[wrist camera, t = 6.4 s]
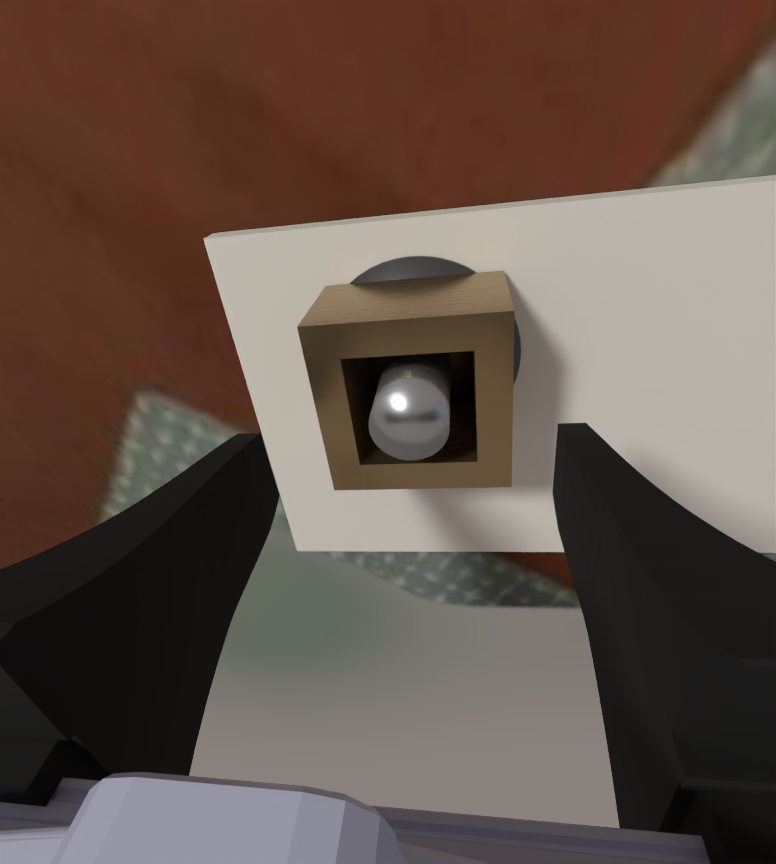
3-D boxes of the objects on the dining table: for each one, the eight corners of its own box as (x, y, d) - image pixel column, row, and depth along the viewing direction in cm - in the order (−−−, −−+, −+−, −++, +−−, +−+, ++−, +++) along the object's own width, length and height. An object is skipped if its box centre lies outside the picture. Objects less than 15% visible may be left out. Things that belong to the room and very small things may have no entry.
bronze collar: (503, 270, 15) (514, 310, 12) (502, 425, 18) (511, 487, 15) (325, 285, 16) (296, 326, 13) (352, 431, 19) (334, 490, 16)
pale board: (999, 151, 13) (1028, 154, 12) (815, 538, 21) (827, 553, 20) (213, 233, 17) (203, 238, 16) (301, 538, 24) (297, 550, 23)
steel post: (523, 245, 15) (545, 294, 11) (518, 435, 19) (533, 520, 15) (304, 265, 16) (257, 316, 12) (339, 441, 20) (312, 521, 16)
